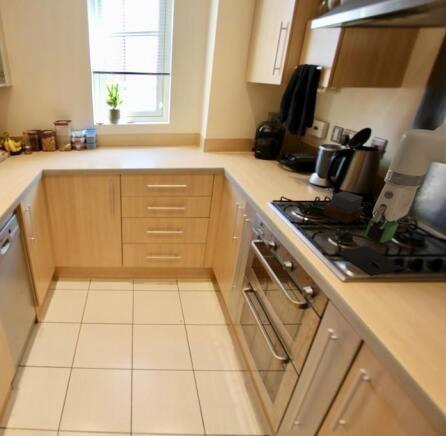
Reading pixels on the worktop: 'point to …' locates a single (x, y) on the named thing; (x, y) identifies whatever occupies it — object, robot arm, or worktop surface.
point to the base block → (342, 213)
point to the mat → (369, 260)
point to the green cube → (388, 231)
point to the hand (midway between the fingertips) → (378, 235)
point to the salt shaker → (404, 221)
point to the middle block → (346, 200)
